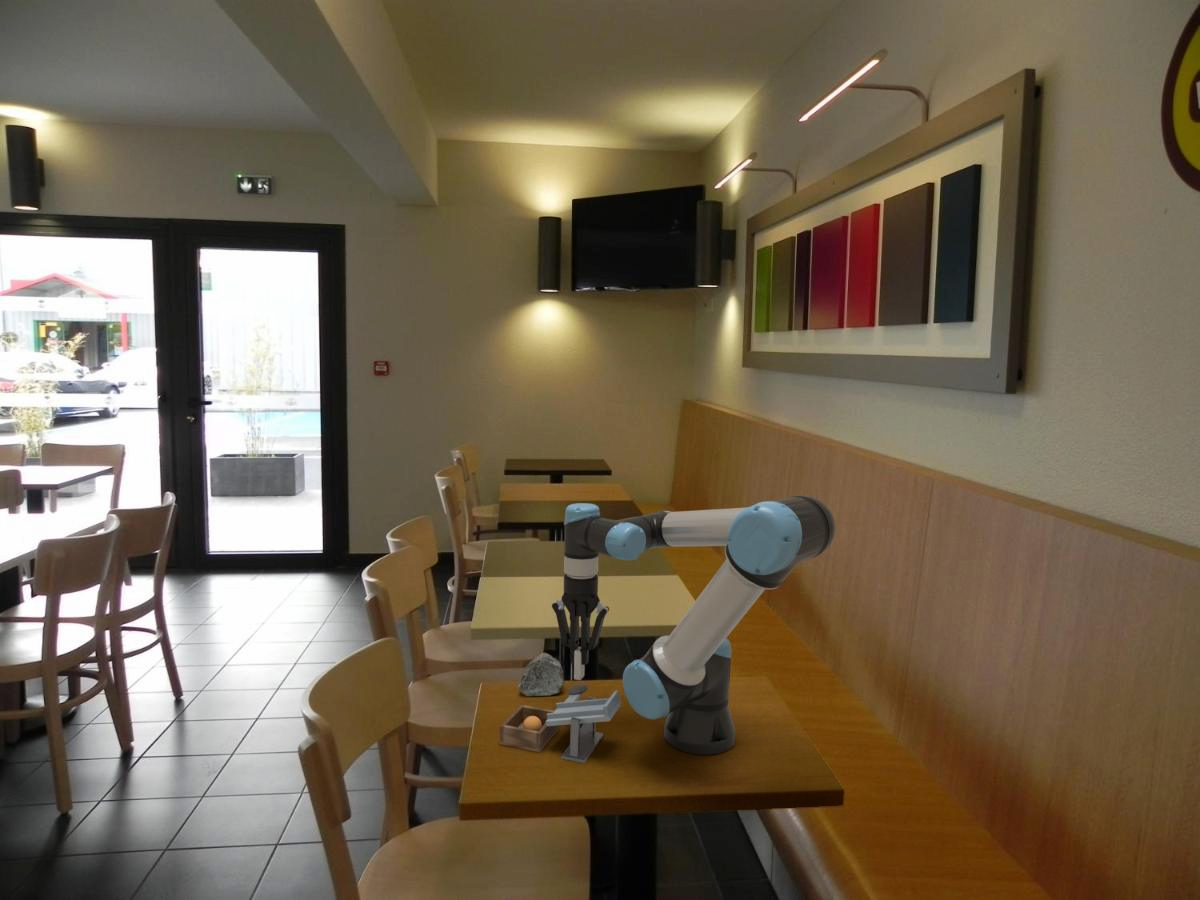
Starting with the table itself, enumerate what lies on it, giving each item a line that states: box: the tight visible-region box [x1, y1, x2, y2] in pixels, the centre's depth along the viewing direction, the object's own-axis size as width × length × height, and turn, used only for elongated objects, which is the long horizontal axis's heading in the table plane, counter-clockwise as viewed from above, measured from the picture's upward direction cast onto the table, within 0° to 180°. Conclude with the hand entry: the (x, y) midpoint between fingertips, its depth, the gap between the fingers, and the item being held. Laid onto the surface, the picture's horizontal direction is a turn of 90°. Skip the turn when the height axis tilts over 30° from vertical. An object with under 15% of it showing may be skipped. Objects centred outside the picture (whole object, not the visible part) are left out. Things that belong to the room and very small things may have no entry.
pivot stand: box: [560, 695, 604, 764], centre depth 163 cm, size 5×12×9 cm, turn 162°
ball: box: [523, 716, 542, 731], centre depth 166 cm, size 4×4×4 cm
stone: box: [517, 652, 565, 697], centre depth 189 cm, size 10×10×10 cm
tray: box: [499, 704, 560, 753], centre depth 167 cm, size 9×11×4 cm
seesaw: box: [546, 683, 622, 726], centre depth 167 cm, size 15×18×3 cm
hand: (579, 677), depth 174 cm, fingers closed
